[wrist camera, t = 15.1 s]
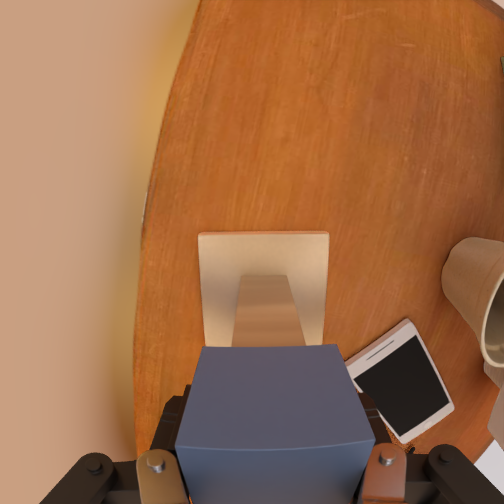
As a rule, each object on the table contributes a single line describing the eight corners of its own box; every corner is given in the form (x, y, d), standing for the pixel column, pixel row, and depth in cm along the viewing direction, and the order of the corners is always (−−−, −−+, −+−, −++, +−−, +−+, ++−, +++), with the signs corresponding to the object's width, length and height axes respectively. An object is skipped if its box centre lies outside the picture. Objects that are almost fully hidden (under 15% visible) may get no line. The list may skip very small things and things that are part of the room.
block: (202, 345, 11) (173, 446, 6) (336, 343, 11) (376, 439, 6) (213, 434, 12) (199, 524, 8) (322, 432, 12) (341, 520, 8)
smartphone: (400, 440, 28) (403, 446, 27) (339, 364, 25) (341, 370, 24) (452, 404, 27) (455, 409, 26) (407, 315, 24) (412, 320, 23)
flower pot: (451, 337, 25) (500, 387, 16) (404, 275, 23) (462, 321, 15) (511, 268, 23) (569, 298, 14) (473, 196, 21) (544, 211, 13)
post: (200, 231, 22) (144, 295, 11) (326, 230, 22) (393, 292, 11) (207, 342, 25) (178, 456, 13) (319, 340, 24) (356, 452, 13)
